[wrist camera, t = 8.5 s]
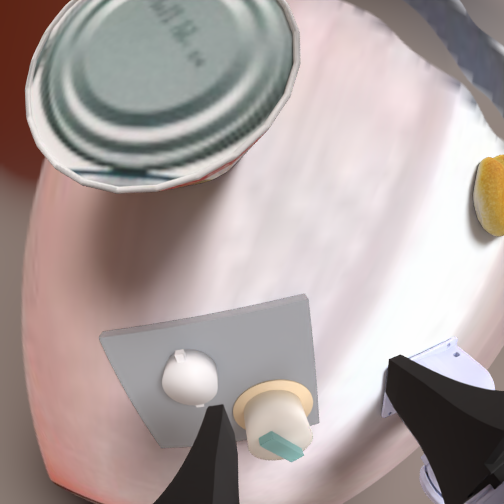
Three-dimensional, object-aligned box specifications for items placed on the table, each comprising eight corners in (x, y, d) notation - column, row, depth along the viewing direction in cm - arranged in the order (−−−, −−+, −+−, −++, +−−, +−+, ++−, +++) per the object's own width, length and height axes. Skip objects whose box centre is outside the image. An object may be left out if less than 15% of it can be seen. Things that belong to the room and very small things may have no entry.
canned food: (161, 60, 15) (105, -50, 4) (269, 94, 17) (335, -7, 5) (117, 164, 17) (-7, 155, 5) (225, 201, 18) (233, 239, 7)
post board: (304, 293, 21) (317, 311, 18) (316, 416, 24) (324, 437, 21) (102, 331, 20) (89, 351, 17) (162, 441, 23) (159, 462, 20)
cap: (311, 407, 22) (327, 445, 17) (267, 433, 22) (276, 473, 18) (278, 380, 21) (291, 423, 16) (231, 410, 21) (235, 453, 17)
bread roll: (464, 161, 20) (494, 162, 16) (505, 152, 20) (531, 153, 16) (472, 244, 22) (500, 254, 18) (512, 222, 22) (536, 229, 18)
